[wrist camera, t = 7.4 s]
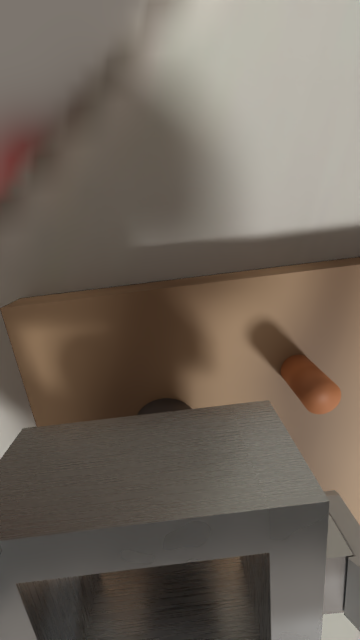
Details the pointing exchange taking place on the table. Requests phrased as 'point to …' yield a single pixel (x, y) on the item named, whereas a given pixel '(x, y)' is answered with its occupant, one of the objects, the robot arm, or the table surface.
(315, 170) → the table surface
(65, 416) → the board
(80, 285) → the table surface
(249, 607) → the grey square frame
